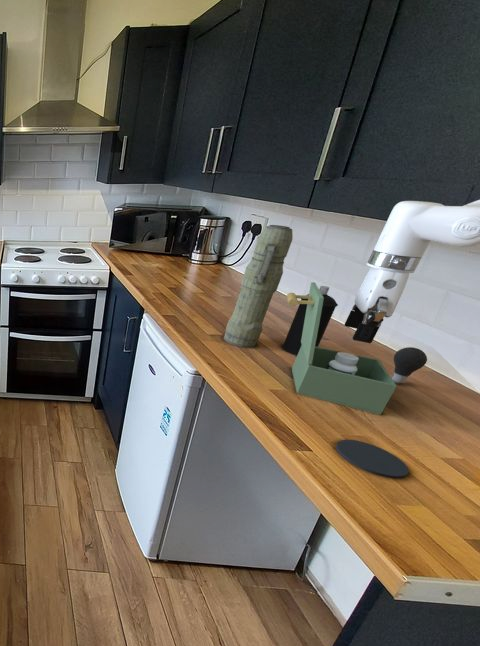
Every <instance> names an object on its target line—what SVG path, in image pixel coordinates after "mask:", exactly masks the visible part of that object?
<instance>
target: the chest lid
mask: <svg viewBox="0 0 480 646" xmlns="http://www.w3.org/2000/svg"><path fill="white" fill-rule="evenodd" d="M319 289H320V288H319V287H318V285H317V283H316V282H310V286H309V292H308V294H309V295H308V294H305V295H304V294H295V292H289V293H287V294H286V299H287V303H288V306H290V307H295V306H297V305H299V304H307V309H306V315H305V321H304V327H303V333H302V339H301V344H302V347H303V350H304V354H305V357H306V360H307V364H312V361H313V356H314V350H315V344H316V339H317V333H318V328H319V322H320V317H321V311H322V306H323V300H324V297H323V296H322V294H321V292H320V290H319ZM301 299H308V301H304V300H301Z"/></svg>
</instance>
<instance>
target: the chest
mask: <svg viewBox="0 0 480 646" xmlns="http://www.w3.org/2000/svg"><path fill="white" fill-rule="evenodd" d="M338 352H341V351H339V350H335V349H329V348H324V347H319V346H318V347H316V346H315V350H314V356H313V361H312V364H307V360H306V357H305V354H304V350H303V347H302V345H301V348H300V350H299V353H298V355H296V357H295V360H294V362H293V364H292V367H291V371H292V376H293V377H292V378H293V382H294V386H295V391H296V394H298V395H303V396H306V397H310V398H314V399H318V400H322V401H326V402H329V403H334V404H338V405H341V406H343V407H344V406H345V407H349V408H352V409H356V410H359V411H360V410H361V411H365V412H368V413H371V414H375V415H380V416H381V415H382V413H383V411H384V410H385V408H386V406H387V404H388V402H389V401H390V399H391V397H392V396H393V394H394V392H395V390H396V388H397V383H394V381H393V380H392V376H391V375H390V374H389V372H388V371H387V370H386V368H385V366H384V365H383V363H382V362H381V360H380V359H377V358H373V357H368V356H363V355H358V354H354V353H351V354H352V355H355V356H357V357H358V358H359V360H358V362H357V364H355V366H356V367H357V372H356V374H355V375H350V374H346V373H342V372H337V371H333V370H328V369H326V368H327V366H328V364H329V362H330V361H332V360H336V359H335V356H336V354H337V353H338Z"/></svg>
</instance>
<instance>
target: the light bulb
mask: <svg viewBox="0 0 480 646" xmlns="http://www.w3.org/2000/svg"><path fill="white" fill-rule="evenodd" d="M427 362H428V356H427V354H426V353H425V352H424V351H423V350H422V349H420V348H417V347H411V346H409V347H403V348H400V349H398V350H397V351H396V352H395V353H394V355H393V363H394V373H393V374H392V376H391V378H392V380H393V381H394V383H395V384H396V385H399V384H405V383H406V381H407V380H408V378H409V377H410V376H411V375H412V374H413V373H415V372H416V371H418V370H420V369H422V368H423V367H424V366H425V365H426V364H427Z"/></svg>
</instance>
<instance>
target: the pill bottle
mask: <svg viewBox="0 0 480 646" xmlns="http://www.w3.org/2000/svg"><path fill="white" fill-rule="evenodd" d="M352 354H353V353H349V352H345V351H340V352H338V353H337V354H336V356H335V359H336V360H332V361H330V362H329V364H328V366H327V368H326V369H328V370H333V371H337V372H342V373H346V374H350V375H355V374H356V372H357V367H356V366H355V364H357V362H358V360H359V358H358V357H357V356H355V355H356V354H354V355H352Z"/></svg>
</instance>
